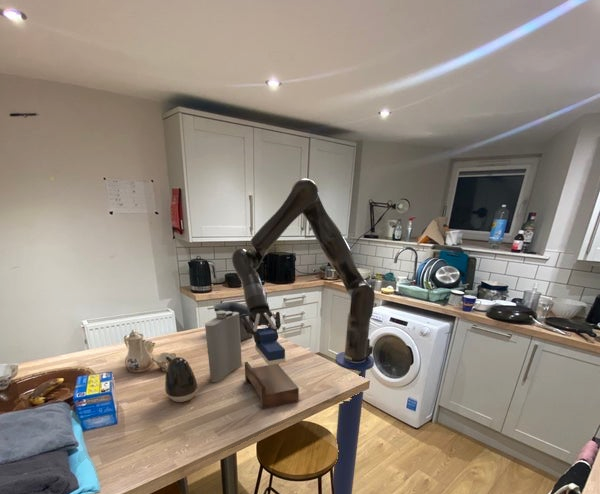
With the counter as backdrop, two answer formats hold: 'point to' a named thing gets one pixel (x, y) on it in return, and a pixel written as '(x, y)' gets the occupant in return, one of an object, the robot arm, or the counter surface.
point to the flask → (223, 344)
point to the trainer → (270, 347)
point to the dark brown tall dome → (180, 380)
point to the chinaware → (143, 354)
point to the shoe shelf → (271, 385)
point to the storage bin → (242, 312)
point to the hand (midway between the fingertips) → (267, 341)
